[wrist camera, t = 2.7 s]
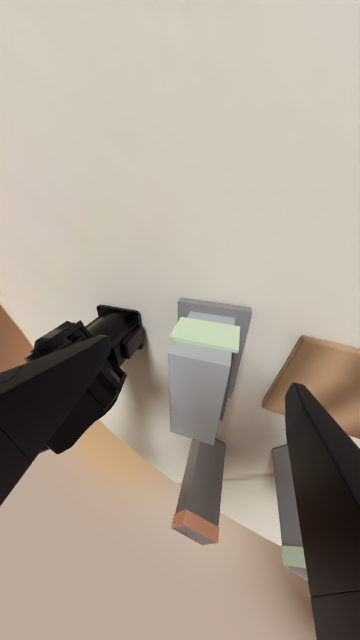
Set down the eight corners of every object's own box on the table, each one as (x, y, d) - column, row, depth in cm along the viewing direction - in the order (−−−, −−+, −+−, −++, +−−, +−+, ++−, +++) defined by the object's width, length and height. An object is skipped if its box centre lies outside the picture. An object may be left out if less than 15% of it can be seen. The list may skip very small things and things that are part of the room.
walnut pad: (262, 401, 27) (262, 407, 26) (301, 335, 20) (304, 340, 19) (357, 431, 24) (361, 439, 24) (436, 368, 18) (445, 376, 17)
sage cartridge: (271, 449, 32) (283, 564, 21) (298, 441, 29) (327, 571, 18) (293, 465, 32) (316, 586, 22) (323, 459, 29) (364, 596, 19)
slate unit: (179, 378, 29) (158, 432, 22) (180, 297, 22) (150, 340, 15) (231, 391, 28) (226, 454, 21) (251, 307, 20) (254, 361, 13)
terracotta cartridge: (191, 442, 38) (171, 527, 28) (201, 432, 35) (183, 524, 25) (213, 454, 38) (202, 545, 28) (226, 445, 35) (217, 543, 25)
